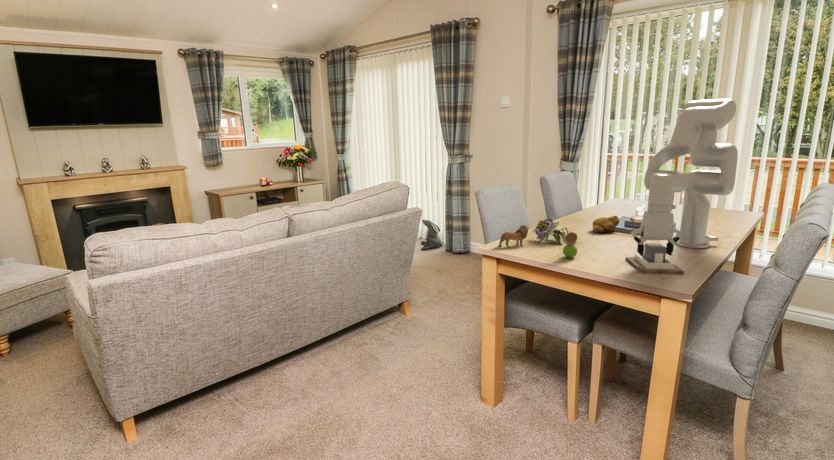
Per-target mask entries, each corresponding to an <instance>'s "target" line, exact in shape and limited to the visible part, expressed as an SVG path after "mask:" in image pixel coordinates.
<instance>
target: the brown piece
mask: <svg viewBox="0 0 834 460" xmlns="http://www.w3.org/2000/svg"><path fill="white" fill-rule="evenodd" d="M625 260H626V262H628V263H629V264H630V265H631V266H632V267H634V268H635V270H637V271H638V272H639V273H640V274H651V275H652V274H657V275H659V274H662V275H663V274H666V275H667V274H668V275H669V274H670V275H675V274H676V275H684V273H685V271H684V270H683V269H682V268H680V267H679V266H678V265H676V264H675V263H674V262H673V261H671V260H670V259H668V258H667V257H665V263H649V262H648V261H647V260H645V259H644V254H643V255H640V254H639V253H634V256H626V257H625Z"/></svg>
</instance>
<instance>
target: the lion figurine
mask: <svg viewBox="0 0 834 460" xmlns="http://www.w3.org/2000/svg"><path fill="white" fill-rule="evenodd" d="M528 233H529V227H528V225H526V224H521V225H519V228H518V229H517V230H516V231H513V232H512V231H511V232H510V231H505V232H503V233H502V234H501V236H500V240H499V244H498V246H497V247H498V248H500V247H503V242H505V246H506V248H507V249H508V248H509V249H510V248H511V246H510V245H509V242H510V241H515V242H516V243H515V245H516V246H520V247H521V248H523V247H524V245H523V240H525V239H526V238H527V236H528Z"/></svg>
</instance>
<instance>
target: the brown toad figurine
mask: <svg viewBox="0 0 834 460" xmlns="http://www.w3.org/2000/svg"><path fill="white" fill-rule="evenodd" d="M619 223H620V218H619V216H617V215H611V216H608V217H606V216H605V217H598V218H596V219H594V220H593V222H592V231H593V232H594V233H599V234H604V233H612V232H614V231H615V230H616V228H617V226H618V225H619Z"/></svg>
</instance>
